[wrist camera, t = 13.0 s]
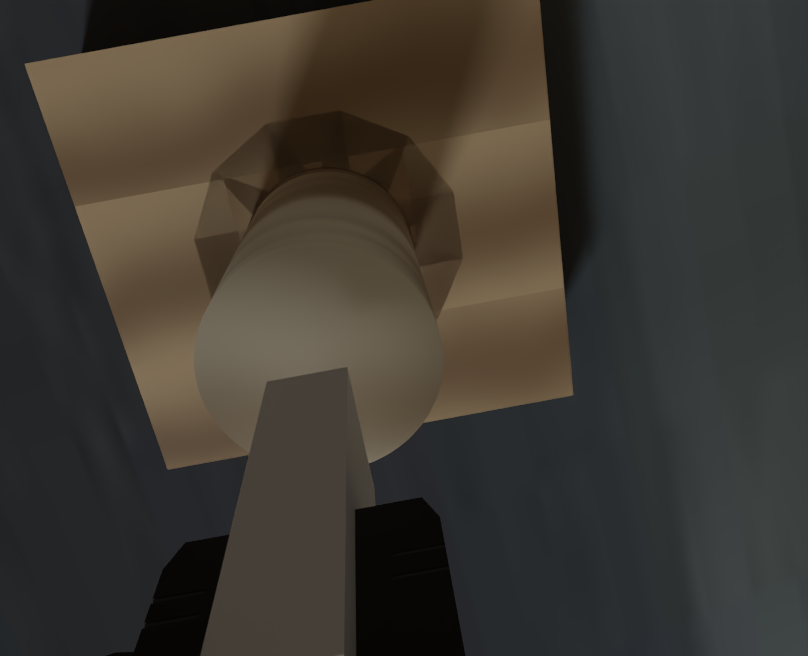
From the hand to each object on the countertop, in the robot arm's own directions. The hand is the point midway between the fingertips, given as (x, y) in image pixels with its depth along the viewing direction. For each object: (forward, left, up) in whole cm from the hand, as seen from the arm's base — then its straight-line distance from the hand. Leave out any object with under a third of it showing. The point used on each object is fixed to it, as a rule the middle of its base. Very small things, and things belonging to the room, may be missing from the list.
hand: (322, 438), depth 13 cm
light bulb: (0, 0, -17) cm, 17 cm away
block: (0, 0, -18) cm, 18 cm away
